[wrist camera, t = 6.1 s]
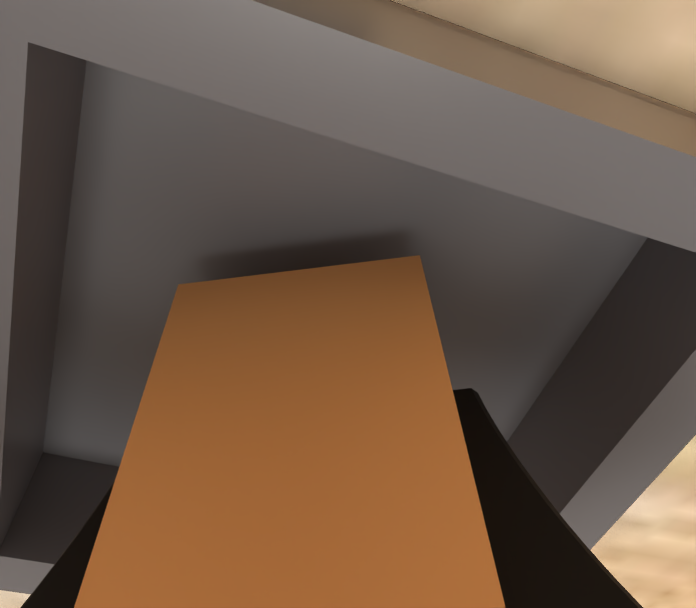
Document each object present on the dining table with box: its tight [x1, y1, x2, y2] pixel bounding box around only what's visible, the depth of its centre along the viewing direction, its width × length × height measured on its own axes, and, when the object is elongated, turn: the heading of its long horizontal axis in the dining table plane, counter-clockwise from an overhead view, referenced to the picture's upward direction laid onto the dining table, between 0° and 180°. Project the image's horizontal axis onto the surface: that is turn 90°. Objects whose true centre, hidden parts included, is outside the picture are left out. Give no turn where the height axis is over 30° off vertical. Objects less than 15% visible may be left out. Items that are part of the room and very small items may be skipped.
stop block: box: [74, 255, 505, 608], centre depth 9 cm, size 4×4×6 cm
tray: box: [0, 0, 696, 594], centre depth 12 cm, size 12×12×3 cm
